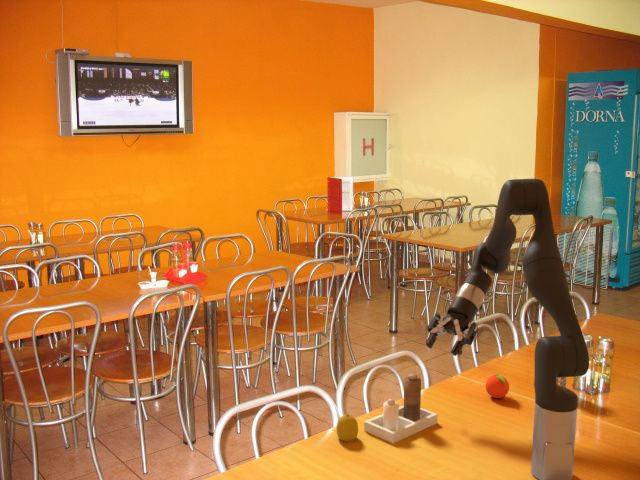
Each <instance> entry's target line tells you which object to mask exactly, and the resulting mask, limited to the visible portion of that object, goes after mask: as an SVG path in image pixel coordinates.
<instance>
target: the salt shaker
mask: <svg viewBox="0 0 640 480" xmlns="http://www.w3.org/2000/svg"><path fill="white" fill-rule="evenodd" d="M399 405H400V404H399V402H398V401H395V400H394V398H388V399H387V400H386V401H384V402H383V407H382V408H383V409H382V414H383V428H386V429H388V430H390V431H395V430H397V429H398V418H399V407H400V406H399Z"/></svg>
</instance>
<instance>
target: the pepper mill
mask: <svg viewBox="0 0 640 480" xmlns="http://www.w3.org/2000/svg"><path fill="white" fill-rule="evenodd" d="M403 383H404V385H403V386H404V387H403V405H404V418H406V419H408V420H411V421H413V422H415V421H418V420H420V408H421V400H422V399H421V396H422V395H421V394H422V393H421V392H422V379H421V378H420V377H418V374H417V373H408V376H406V377H404V382H403Z"/></svg>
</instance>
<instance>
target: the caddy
mask: <svg viewBox="0 0 640 480" xmlns="http://www.w3.org/2000/svg"><path fill="white" fill-rule="evenodd" d="M438 417H439V416H438V413H435V412H433V411H430V410H427V409H425V408H423V407H420V420H418V421H415V422H413V421H411V420H408V419H406V418H404V404H403V405H401V406H399V418H398V429H397V430H395V431H390V430H388V429H386V428H383V413H382V414H379V415H377V416H374V417H372V418H369V419H367V420H364V422H363V431H364V432H365V433H369V434H371V435H373V436H374V437H375V436H376V437H377V438H378V439H379V438H380V439H381V440H384V441H386V442H389V443H391V444H396V443H397V442H400V441H401V440H404V439H406V438H408V437H410V436H413V435H415V434H416V433H419V432H420V431H423V430H426V429H427V428H429V427H432V426H434V425H436V424H438Z"/></svg>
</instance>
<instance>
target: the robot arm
mask: <svg viewBox="0 0 640 480" xmlns="http://www.w3.org/2000/svg"><path fill="white" fill-rule="evenodd" d="M550 202H551V201H550V197H549V192H548V188H547V186H546V184H545V182H544V181H543V180H542V179H541V178H517V179H516V178H515V179H514V178H513V179H508V180H506V181H505V182H504V183H503V184H502V187H501V189H500V192H499V196H498V200H497V205H496V209H495V215H494V220H493V224H492V226H491V229H490V232H489V234H488V236H487V238H486V240H485V241H484V242H480V243H479V244H477V246H476V247H475V249H474V252H473V256H472V261H471V265H470V269H469V270H468V271H469V272H468V274H467V276H466V278H465V280H464V282H463V283H462V285H461V286H460V287H459V289H458V290H457V292H456V294H455V296H454V297H453V299H452V301H451V303H450V305H449V306H448V308H447V311H446V314H445V315H440V313H439V312H436V313H435V314H434V316H433V317H432V319H431V320H430V322H429V323H428V325H427V326H426V331H428V333H429V336H428V338H427V339H426V341H425V346H426V347H427V348H428V349H432V348H433V346H434V344H435V343H436V341H437V339H438V337H440V336H441V335H446V334H449V335H450V334H453V336H457V340H456V341H455V343H454V345H453V347H452V348H451V350H450V353H451V354H452V356H454V357H457V355H459V354H460V353H461V350H462V348H463V347H464V346H466V345H468V346H471V345H472V344H473V342H474V340H475V339H476V336H477V333H478V331H479V330H480V327H479V325H478V324H477V322H475V321H473V320H474V319H475V317H476V315H477V313H478V312H479V310H480V308H481V306H482V304H483V301H484V299H485V296H486V294H487V293H488V291H489V289H490V287H491V285H492V283H493V279H492V277H491V276H490V275H489V274H488V273H487V272H486V271H485V270H484V269H486V270H487V271H490V272H491V273H494V274H496V275H501V274H503V273H504V272H506V271H507V269H508V267H509V266H510V263H511V262H510V261H511V249H512V247H513V244H514V242H515V240H516V238H517V233H518V231H517V227H516V225H515V223H514V222H513V220H512V219H511V217H512V216H531V215H532V217H533V218H534V232H533V235H532V237H531V239H530V242H529V243H528V246H527V248H526V250H525V252H524V254H523V256H522V257H523V258H522V270H523V273H524V274H523V275H524V278H525V282H526V286H527V289H528V291H529V292H530V294H531V295H532V297H534V299H535V300H536V301H537V302H538V304H540V305H541V307H543V308H544V309H545V310H546V312H547V313H548V314H549V315H550V317H551V319H553V321H554V322H555V326H556V325H557V329H558V332H559V335H556V336H555V335H550V336H549V335H547V336H546V335H545V336H542V337H541V336H540V337H539V338H538V339H537V341H536V343H535V346H534V377H533V378H534V382H533V383H534V385H533V387H534V397H535V398H534V409H533V410H534V413H533V427H532V428H533V430H532V431H533V432H532V446H531V463H530V464H531V467H530V472H531V475H532V476H533V477H535V478H536V479H537V480H573V475H574V459H575V446H576V445H575V442H576V431H577V429H576V427H577V419H578V418H577V415H578V402H579V397H578V395H577V394H576V393H575V392H574V391H573V390H571V389H570V388H567V387H566V388H565V387H562V386H559V385H560V384H558V385H557V383H556V377H566V378H571V377H573V378H575V377H582V376H585V375H586V374H587V373H588V371H589V368H590V355H589V354H590V353H589V349H588V345H587V343H586V339H585V337H584V333H583V331H582V327H581V326H580V323H579V319H578V317H577V314H576V311H575V308H574V305H573V301H572V297H571V292H570V289H569V284H568V279H567V274H566V271H565V267H564V263H563V259H562V255H561V253H560V248H559V244H558V241H557V236H556V233H555V227H554V221H553V216H552V210H551V203H550ZM465 331H467V332H466V335H465Z"/></svg>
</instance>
